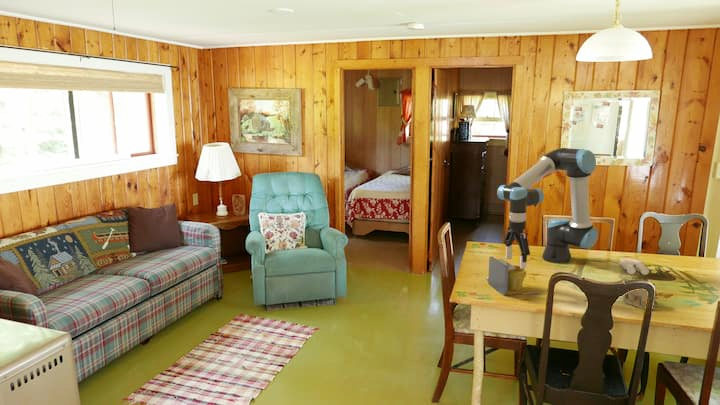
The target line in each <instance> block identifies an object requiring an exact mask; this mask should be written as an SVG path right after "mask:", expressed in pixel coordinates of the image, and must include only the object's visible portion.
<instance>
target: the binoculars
mask: <svg viewBox="0 0 720 405" xmlns="http://www.w3.org/2000/svg"><path fill="white" fill-rule="evenodd" d="M619 263H620V267H622V268H623V270H625V271H626V270H627V271H626V272H627V273H628V274H629V275H634V274H635V273H636V272H640V273H641V274H642V275H643V276H647V275H648V274H649V273H650V269H649V268H648V267H646V266H645V265H644V264H643V263H642V261H640V260H637V259H632V258H626V259H624V258H623V259H620V260H619Z"/></svg>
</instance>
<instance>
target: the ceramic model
mask: <svg viewBox="0 0 720 405" xmlns="http://www.w3.org/2000/svg"><path fill="white" fill-rule="evenodd" d="M626 293H627V294H626ZM626 293H625V294H624V295H623V297H622V299H623V302H624V303H625V304H628V305H631V306H634V307H637V308H639V309H642V310H645V306H646V301H647V291H646V290H643V289H639V290H634V291H631V292H629V293H628V292H626ZM656 297H658V292H657V291H656V290H655V297H654V305H653V310H652V311H658V305H659V303H658V302H657V301H656V300H655V298H656Z"/></svg>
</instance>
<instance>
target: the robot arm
mask: <svg viewBox="0 0 720 405" xmlns="http://www.w3.org/2000/svg"><path fill="white" fill-rule="evenodd" d="M596 167H597V159H596V156H595V154H594V153H593V152H592V151H591V150H589V149H584V148H568V147H560V148H557V149H554V150H551V151H549V152H548V153H545V154H544V155H542V156H541V157H540V158H539V159H538V162H537V163H535V164H534V165H532V167H530V168H528V170H526V171H525V172H524V173H522V174H520V175H519V176H518V177H517V178H515V180H513V181H512V182H511V183H509V184H502V185H500V186H499V187H498V188H497V192H496V193H497V197H498V199H500V200H502V201H508V202H509V214H508V216H509V221H508V227H507V230H506V232H505V233H506V234H505V237H504V240H503V244H504V245H505V246H506V247H505V261H507V260H512V258H513V243H514V242H515V241H516V243H517V245H518V246H519V250H520V259H519V260H520V262H519V265H520V268H521V269H523V268H525V269H527V261H528V260H527V258H528V256H530V255H531V250H530V246H529V242H528V234H527V233H524V231H525V230H526V227H527V223H526V222H527V207H530V206H536V205H538V204H541V203H543V201H544V199H545V194H544V191H543V190H542V189H541V188H538V187H537V188H536V187H535V188H534V187H533V186H534V185H535V184H536V183H537V182H539V181H540V180H541V179H543V178H544V177H545V176H547V175H548V174H552V173H553V172H554V171H565V172H566V177H567V178H568V179H569V186H570V202H571V203H570V204H571V206H570V207H571V219H568V218H553V219H550V220H549V221H547V227H546V228H547V231H546V232H547V233H546V244H545V245H546V246H545V248H544V250H543V253H542V260H544V261H546V262H550V263H554V264H566V263H571V261H572V255H571V251H570V247H569V245H570V246H573V247H578V248H581V249H587V250H588V249H589V250H590V249H591V248H593V247H594V245H595V244H596V242H597V240H598V237H599V230H598V229H597V228H596V227H594V222H593V221H592V220H591V219H590V196H589V194H590V192H589V177H591V176H592V173H593V172H594V171H595V169H596ZM531 187H533V188H531Z"/></svg>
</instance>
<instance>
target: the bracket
mask: <svg viewBox="0 0 720 405" xmlns="http://www.w3.org/2000/svg"><path fill="white" fill-rule="evenodd" d="M488 259H489V261H488V277H487V278H488V280H487V281H488V282H487V283H488V285H489V286H490V287H492V288H493V289H494V290H495V291H496V292H498V293H499V294H500V295H502V296H503V297H514V296H515V297H516V296H523V295H534V294H535V295H536V294H540V292H539V291H531V292H530V291H529V292H520V293H511V294H510V293H509V294H508V288H507V283H508V270H513V269H515V267H514V266H513V265H512V264H511V263H510V262H508V261H507V260H506V259H504V258H495V257H494V256H489V258H488Z"/></svg>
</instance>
